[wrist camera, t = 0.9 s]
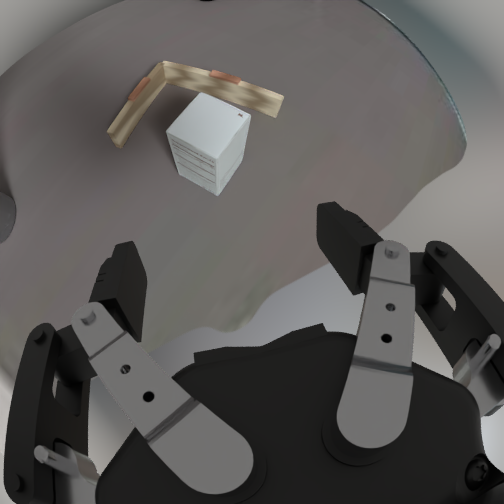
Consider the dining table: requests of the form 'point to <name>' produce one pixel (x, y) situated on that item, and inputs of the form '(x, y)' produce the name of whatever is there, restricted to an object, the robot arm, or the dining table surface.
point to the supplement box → (209, 141)
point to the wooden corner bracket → (194, 80)
